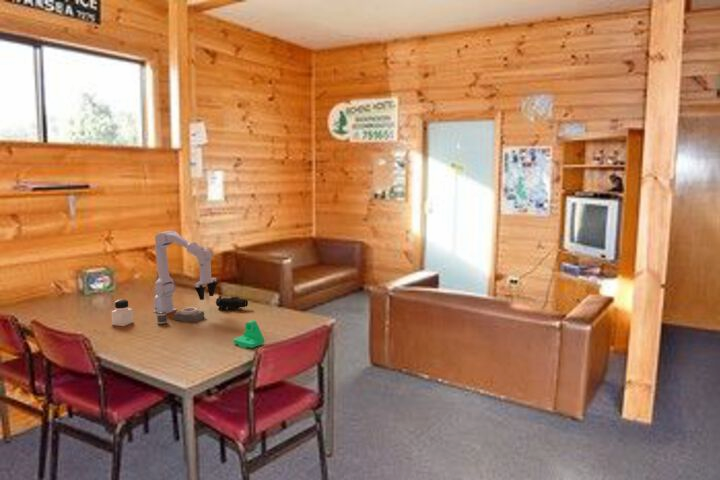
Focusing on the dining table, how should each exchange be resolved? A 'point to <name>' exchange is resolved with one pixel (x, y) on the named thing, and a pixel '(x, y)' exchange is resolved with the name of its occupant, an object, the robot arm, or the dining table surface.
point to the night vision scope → (230, 303)
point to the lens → (161, 318)
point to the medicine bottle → (122, 313)
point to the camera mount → (250, 336)
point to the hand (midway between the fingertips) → (206, 297)
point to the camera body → (189, 315)
